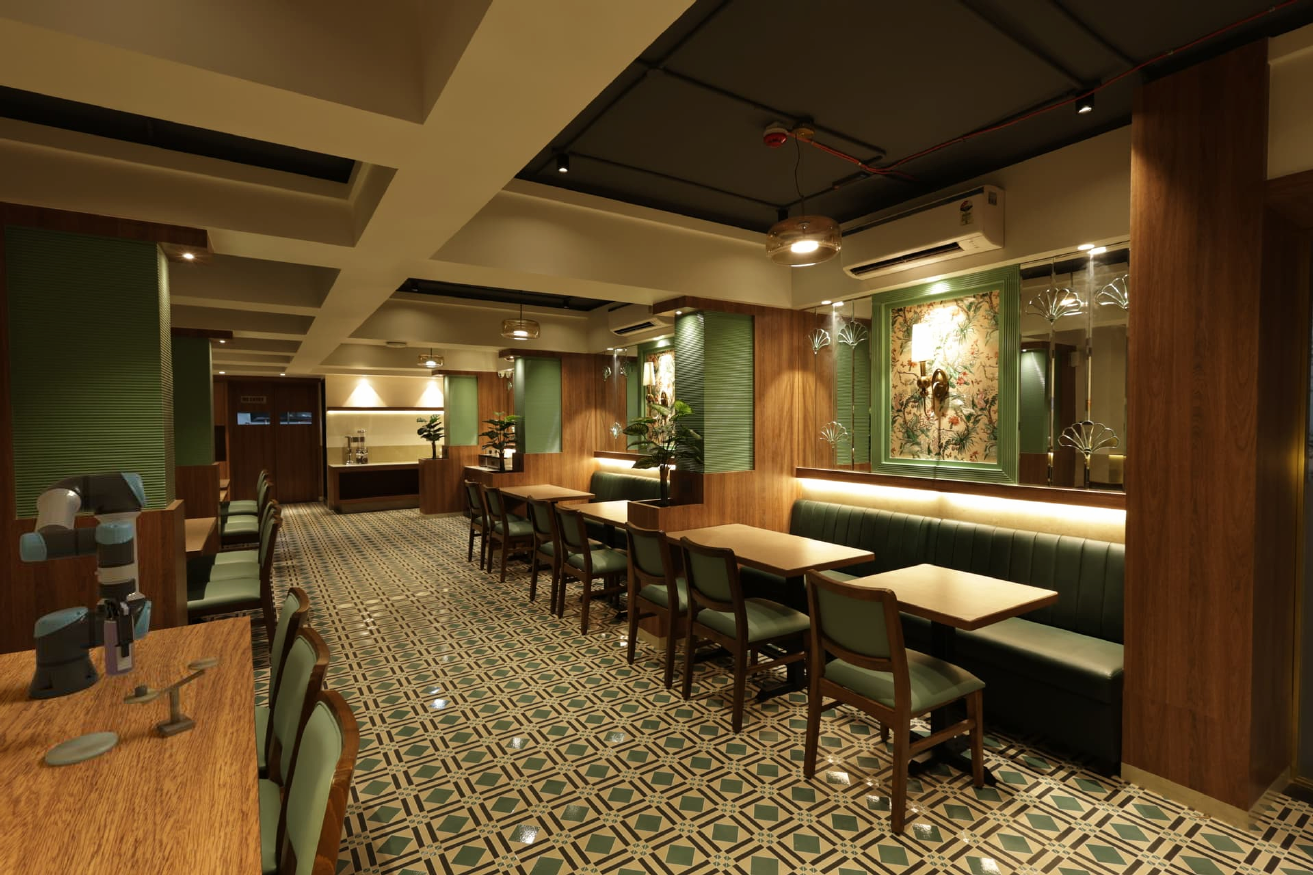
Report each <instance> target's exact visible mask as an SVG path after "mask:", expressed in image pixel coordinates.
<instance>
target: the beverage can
mask: <svg viewBox="0 0 1313 875" xmlns="http://www.w3.org/2000/svg"><path fill="white" fill-rule="evenodd" d="M118 617H119V616H118ZM132 625H133V639H134V619H133V617H132ZM104 643H105V646H104V663H105V667H104V668H105V675H107V676H108V677H121V676H125V675H128V674H130V673H132V672H133V671H134V670H135V669H136V650H135V649H136V647H135V646H136V644H135V641H134V642H133V643H131V664H132V667H130V668H126V669H123V670H119V671H118V668H117V647H115V646H114V645H117V644H118V640H117V630H116V621H113V620H112V618H106V619H105V622H104Z"/></svg>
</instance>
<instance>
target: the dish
mask: <svg viewBox="0 0 1313 875" xmlns="http://www.w3.org/2000/svg"><path fill="white" fill-rule="evenodd" d="M118 742H119V739H118V734H117V733H116V732H112V731H100V732H94V733H89V734H84V735H80V736H78V737H74V738H70V739H68V740H66V741H64V742H61V743H59V744H57V745H56V746H55V745H54V746H53V747H52V748H50V749H49V750H48V751H47V752H46V754H45V755H44V757H45V758H44V762H45V764H46V765H48V766H55V767H57V766H58V767H60V766H69V765H74V764H78V763H81V762H85V761H87V760H90V759H94V758H97V757H98V756H101V755H102V754H105V753H107V752H108V751H110V750H112V749H113V748H114V747H116V745H117V744H118Z"/></svg>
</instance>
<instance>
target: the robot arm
mask: <svg viewBox="0 0 1313 875" xmlns="http://www.w3.org/2000/svg"><path fill="white" fill-rule="evenodd" d="M35 505H36V508H37V511H38V516H37V519H36V523H35V527H34V531H32V532H28V533H24V534H23V533H22V535H21V536H20V537H19V555H20V559H21V561H23V562H25V563H27V562H28V563H31V562H45V561H51V560H59V559H66V558H75V557H84V556H92V555H94V556H95V555H96V561H97V562H96V564H97V566H96V567H97V570H96V571H94V575H95V576H97V582H99V584H97V590H98V591H97V596H98V598H100V600H99V601H98V602H97V604H96V608H97V609H91V610H89V609H88V606H83V605H82V606H73V607H69V608H65V609H61V610H60V609H59V610H57V611H54V612H52V613H49V614H47V615H44V616H42V617H41V618H39V619H38V620H37V621H36V622H35V625H34V634H33V637H34V641H35V642H34V644H35V662H36V663H35V665H36V666H35V667H36V668H35V671H34V673H33V676H32V679H31V681H30V683H29V687H28V695H29V698H32V699H49V698H50V699H51V698H56V697H57V698H58V697H61V696H66V695H69V694H74V693H77V692H80V691H82V690H85V689H89V688H90V687H91V686H94V685H95V684H96V683H97V682H99V672H98V670H97V669H96V667H95V664H94V663H93V660H92V659H91V656H90V650H92V649H98V648H101V647H105V643H104V622H105V619H106V618H112V620H113V621H116V630H117V640H118V644H117V645H114V646H115V647H117V668H118V671H119V670H123V669H126V668H130V667H132V664H131V643H133V642H134V643H135V641H137V640H142V639H144V638H146V636H147V635H148V633H149V629H150V628H149V627H150V620H151V609H152V601H151V600H146V595H144V594H143V593H141V592H140V586H139V566H138V565H139V564H138V562H139V561H138V540H137V538H138V536H137V517H139V516H140V515H141V514H142V508H146V507H147V506H148V504H147V499H146V493H145V488H144V484H143V481H142V477H141V475H140V474H138V473H136V472H117V473H99V474H85V475H84V474H80V475H79V474H78V475H73V476H69V477H66V478H63V479H60V480H58V481H56V482H54V483H52V484H50V485H49V486H48V487H46V488H44V489H43V491H42V492H41V493H40V494H39V495H38V498H37V499H36V504H35ZM84 512H85V513H87V512H93V518H94V519H96V520H97V521H99V522H100V524H98V525H97V526H91V527H90V526H88V527H82V528H81V527H79V528H74V524H75V518H76V513H84ZM118 616H119V617H118ZM132 617H133V619H134V639H133V625H132Z"/></svg>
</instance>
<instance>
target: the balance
mask: <svg viewBox="0 0 1313 875" xmlns="http://www.w3.org/2000/svg"><path fill="white" fill-rule="evenodd" d="M220 660H221V659H220V658H218V657H207V658H201V659H198V660H194V661H192V662H190V663H188V665H187V670H188V671H196V672H194V673H193V674H190V675H189V676H187V677H185V678H182V679H181V680H179V681H177V682H174V684H171V685H169V686H168V687H166V688H164V689H162V690H159V689H157V688H148V685H146V684H143V685H139V686H136V687H135V688H134V692H131V693H129V694H127V695H126V696H124V697H123V698H122V703H123V704H126V705H132V704H133V705H135V704H141V706H143V707H144V706H147V705H149V704H151V703H153V702H154V701H156V700H159V699H160V698H162V697H164V696H165V695H168V697H169V716H170V718H166V719H163V720H159V721H157V722H155V729H156V730H158V732H160V733H161V734H162V735H163V736H165V737H166V738H169V737H172V736H174V735H178V734H179V733H183V732H186V731H188V730H192V729H194V728H195V727H196V721H195V720H193V719H192V718H190V717H189V716H187V715H186V714H185V713H181V709H180V687H182V686H184V685H186V684H188V683H190V682H192V681H194V680H196V679H198V678H199V677H201V676H203V675H205V674H206V672H205V671H206V670H207V669H210V668H214V667H216V666H218V665H219V664H220Z"/></svg>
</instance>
